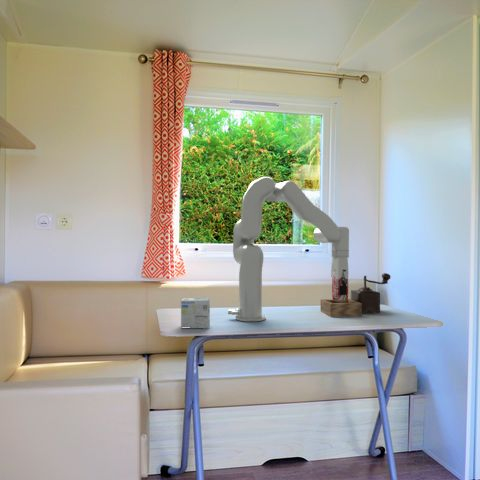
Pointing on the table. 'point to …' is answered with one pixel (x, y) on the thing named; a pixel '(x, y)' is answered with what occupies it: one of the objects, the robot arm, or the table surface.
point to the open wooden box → (341, 308)
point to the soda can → (335, 290)
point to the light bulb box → (195, 312)
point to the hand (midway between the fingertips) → (340, 293)
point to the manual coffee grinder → (369, 296)
